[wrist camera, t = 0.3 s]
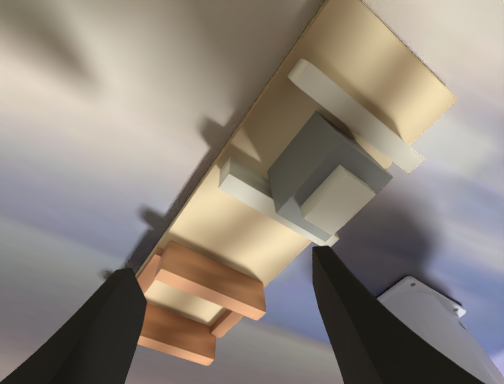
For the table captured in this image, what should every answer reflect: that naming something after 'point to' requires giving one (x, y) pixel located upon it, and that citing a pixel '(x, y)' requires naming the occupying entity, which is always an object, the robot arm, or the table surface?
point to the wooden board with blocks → (257, 181)
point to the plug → (324, 178)
